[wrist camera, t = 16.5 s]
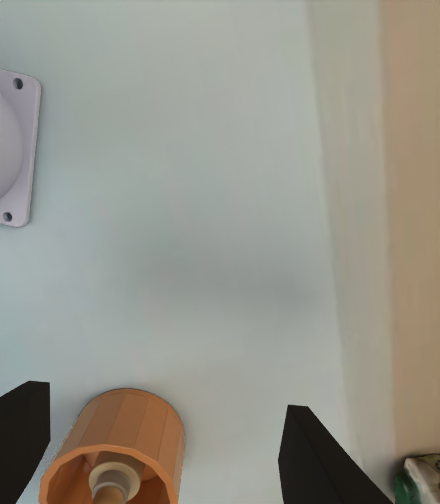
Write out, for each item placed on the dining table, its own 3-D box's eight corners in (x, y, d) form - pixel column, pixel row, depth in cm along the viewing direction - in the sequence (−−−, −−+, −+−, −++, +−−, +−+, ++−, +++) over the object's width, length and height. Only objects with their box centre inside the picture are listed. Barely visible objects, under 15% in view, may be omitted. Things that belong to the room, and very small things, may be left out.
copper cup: (69, 470, 23) (32, 542, 18) (82, 378, 21) (46, 433, 17) (173, 488, 23) (162, 563, 19) (195, 400, 21) (189, 459, 17)
